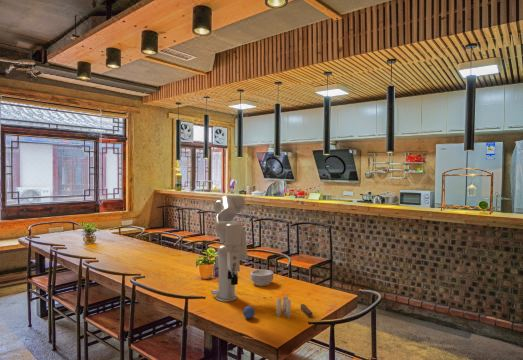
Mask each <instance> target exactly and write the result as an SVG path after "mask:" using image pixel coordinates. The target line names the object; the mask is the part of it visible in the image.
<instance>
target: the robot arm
mask: <svg viewBox="0 0 523 360" xmlns="http://www.w3.org/2000/svg"><path fill="white" fill-rule="evenodd" d="M245 208H246V200H245V198H244V196H242V195H241V194H240V195H239V194H237V195H234V194H233V195H232V194H230V195H229V194H228V195H227V194H226V195H224V196H222V197H221V198H220V199H218V200H216V201H215V202H214V214H215V218H214V231H215V234H216V235H217V236H219V241H220V243H221V244H222V245H219V247H217V251H216V252H217V253H218V262H219V276H218V289H212V290H211V291H210V292H211V294H212V295H213V296H214V295H215V299H216V300H217V301H220V302H223V303H225V302H228V303H229V302H234V301H236V300H237V299H238V295H237V294H236V292H235V291H236V289H235V287H236V286H237V285H238V284H239V282H238V281H239V276H238V275H239V274H238V272H240V270H241V269H240V268H241V267H240V266H241V264H240V261H246V259H248V247H247V246H248V245H247V235H246V231H245V229H244V228H243V223H241V221H238V220H233V219H235V217H236V216H237V214H239V213H240V214H241V213H242V212H243V211H244V210H245Z"/></svg>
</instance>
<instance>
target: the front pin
mask: <svg viewBox="0 0 523 360" xmlns="http://www.w3.org/2000/svg"><path fill="white" fill-rule="evenodd" d="M281 316H282V298H281V297H280V298H276V317H281Z"/></svg>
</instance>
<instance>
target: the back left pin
mask: <svg viewBox="0 0 523 360" xmlns="http://www.w3.org/2000/svg"><path fill="white" fill-rule="evenodd" d="M288 298H289V297H288V296H287V295H283V298H282V313H283V314H284V315H286V300H287V299H288Z"/></svg>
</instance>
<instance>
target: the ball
mask: <svg viewBox="0 0 523 360" xmlns="http://www.w3.org/2000/svg"><path fill="white" fill-rule="evenodd" d="M255 313H256V312H255V309H254V307H253V306H251V305H248V306H245V307H244V308H243V311H242V315H243V316H244V318H246V319H248V320H249V319H252V318H253V317H254V316H255Z"/></svg>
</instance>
